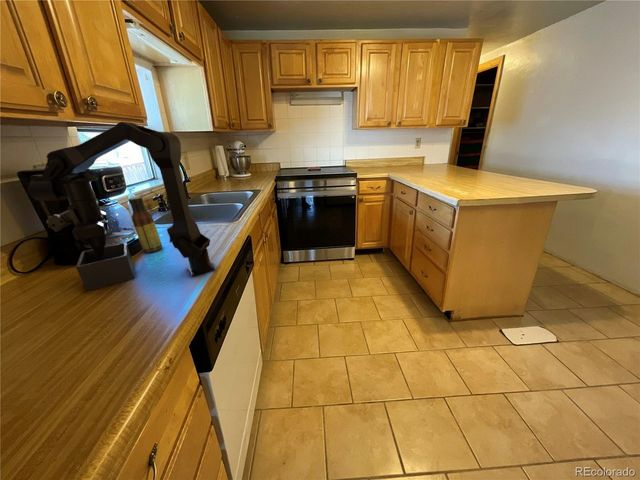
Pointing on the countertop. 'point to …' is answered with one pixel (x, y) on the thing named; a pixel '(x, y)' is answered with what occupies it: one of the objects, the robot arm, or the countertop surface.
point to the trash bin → (105, 266)
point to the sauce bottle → (144, 226)
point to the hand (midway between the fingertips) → (102, 251)
